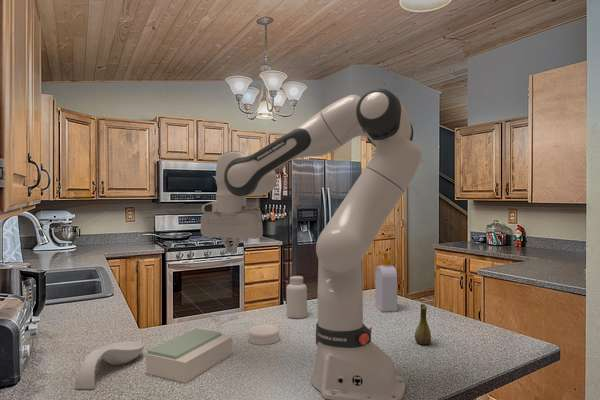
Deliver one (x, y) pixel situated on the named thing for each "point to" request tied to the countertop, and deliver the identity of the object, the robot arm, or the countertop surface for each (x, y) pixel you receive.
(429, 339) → the olive green bottle shape
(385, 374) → the robot arm
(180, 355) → the cover
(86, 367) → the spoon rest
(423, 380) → the countertop surface
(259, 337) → the beige short cylinder
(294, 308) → the pill bottle
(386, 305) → the soap bottle
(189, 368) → the beige rectangular box
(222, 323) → the scissors
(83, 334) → the countertop surface
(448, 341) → the countertop surface
